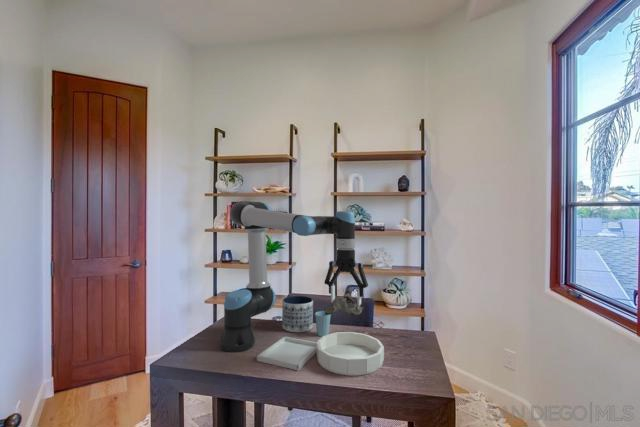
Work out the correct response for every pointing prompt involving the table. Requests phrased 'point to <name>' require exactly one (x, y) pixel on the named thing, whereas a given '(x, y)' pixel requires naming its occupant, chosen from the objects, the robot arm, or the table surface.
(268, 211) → the robot arm
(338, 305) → the decorative stone
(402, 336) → the table surface
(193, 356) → the table surface
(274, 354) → the tray
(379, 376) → the table surface
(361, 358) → the bowl
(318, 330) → the cup
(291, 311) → the planter
